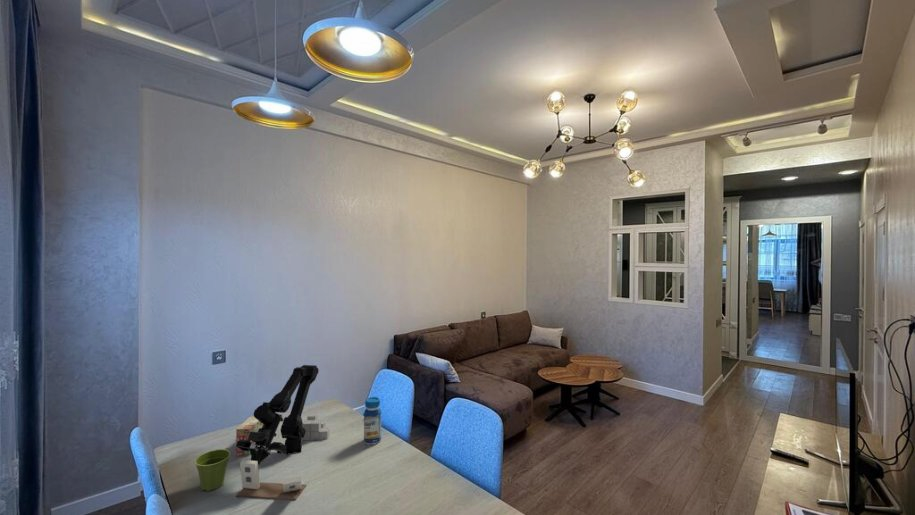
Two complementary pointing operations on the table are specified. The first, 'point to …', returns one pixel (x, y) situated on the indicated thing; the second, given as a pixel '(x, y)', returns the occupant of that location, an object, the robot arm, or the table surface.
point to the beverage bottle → (372, 421)
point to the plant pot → (212, 468)
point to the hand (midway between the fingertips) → (251, 470)
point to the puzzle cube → (314, 428)
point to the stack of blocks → (247, 432)
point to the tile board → (270, 492)
